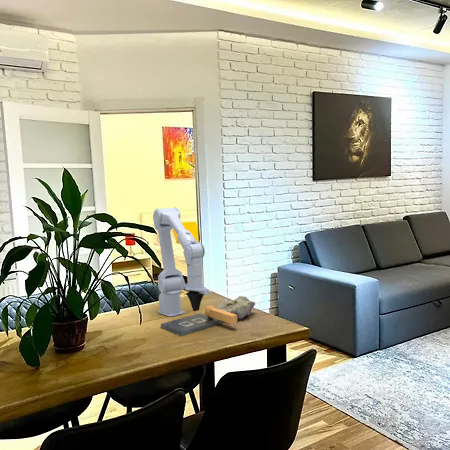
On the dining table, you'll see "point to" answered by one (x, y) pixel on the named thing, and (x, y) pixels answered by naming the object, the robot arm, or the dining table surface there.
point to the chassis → (190, 324)
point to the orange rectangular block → (220, 314)
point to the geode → (237, 306)
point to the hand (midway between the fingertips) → (195, 310)
